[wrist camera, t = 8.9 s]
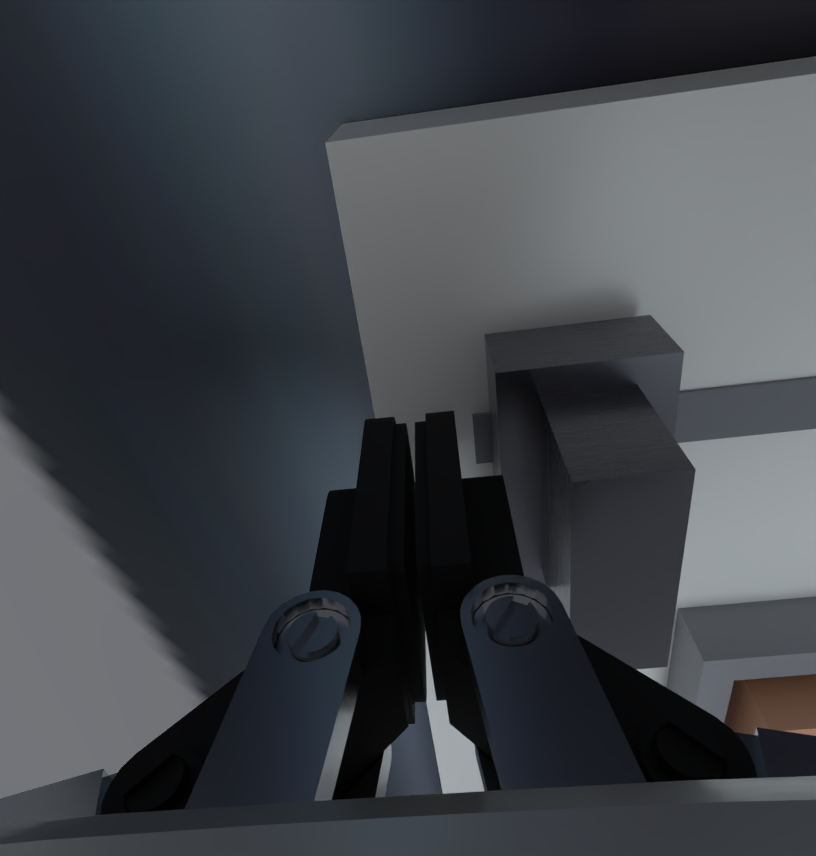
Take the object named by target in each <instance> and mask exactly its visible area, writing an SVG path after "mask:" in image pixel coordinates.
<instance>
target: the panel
mask: <svg viewBox="0 0 816 856" xmlns="http://www.w3.org/2000/svg"><path fill="white" fill-rule="evenodd" d="M325 144H326V150H327V155H328V161H329V167H330V172H331V178H332V183H333V189H334V194H335V200H336V205H337V211H338V216H339V222H340V227H341V233H342V238H343V244H344V250H345V255H346V261H347V266H348V272H349V277H350V283H351V288H352V294H353V299H354V305H355V310H356V316H357V321H358V327H359V332H360V338H361V344H362V349H363V355H364V360H365V366H366V371H367V377H368V382H369V388H370V393H371V399H372V404H373V410H374V415H375V418H385V417H394V418H395V421H396V424H401V423H406V424H407V430H408V437H409V444H410V451H411V458H412V465H413V472H414V479H415V422H421V421H426V419H425V414H426V413H435V412H445V411H454V415H455V424H456V433H457V442H458V450H459V459H460V468H461V477H462V478H473V477H484V476H494V469H493V454H492V439H491V424H490V409H489V394H488V379H487V364H486V349H485V334H491V333H500V332H508V331H517V330H525V329H534V328H542V327H551V326H559V325H568V324H576V323H585V322H593V321H602V320H610V319H619V318H627V317H636V316H644V315H651V316H652V317H653V318H654V319H655V320H656V321H657V323H658V324H659V325H660V326H661V327H662V328H663V329H664V330H665V331H666V332H667V333H668V335H669V336H670V337H671V338H672V339H673V340H674V341H675V342H676V343H677V344H678V345H679V347H680V348H681V349H682V350H683V351H684V358H683V366H682V375H681V384H680V392H679V401H678V409H677V418H676V426H675V435H674V439H675V440H676V442H677V443H678V444H679V446H680V447H681V449H682V450H683V452H684V453H685V455H686V456H687V458H688V459H689V460H690V462H691V463H692V465H693V466H694V468H695V469H696V472H695V478H694V485H693V492H692V499H691V506H690V513H689V520H688V527H687V534H686V541H685V548H684V555H683V562H682V569H681V576H680V583H679V590H678V597H677V604H676V610H675V617H674V624H673V631H672V638H671V645H670V652H669V659H668V666H667V667H660V668H648V669H636V670H638V671H639V672H641V673H643V674H645V675H646V676H648V677H650V678H651V679H653V680H655V681H656V682H658V683H660V684H661V685H663V686H665V687H666V688H668V689H670V690H671V691H673V692H675V693H676V694H678V695H680V696H682V697H683V698H685V699H687V700H688V701H690V702H692V703H693V704H695V705H697V706H698V707H700V708H702V709H703V710H705V711H707V712H708V713H710V714H712V715H714V716H715V717H716V718H718V719H719V720H720V721H722V722H723V723H724V721H725V717H726V713H727V709H728V704H729V700H730V696H731V692H732V687H733V683H734V680H747V679H760V678H772V677H785V676H798V675H811V674H816V56H814V57H807V58H800V59H793V60H786V61H779V62H772V63H765V64H758V65H751V66H744V67H737V68H730V69H723V70H716V71H709V72H702V73H695V74H688V75H681V76H674V77H667V78H660V79H653V80H646V81H639V82H632V83H625V84H618V85H611V86H604V87H597V88H590V89H583V90H576V91H569V92H562V93H555V94H548V95H541V96H534V97H527V98H520V99H513V100H506V101H499V102H492V103H485V104H478V105H471V106H464V107H457V108H450V109H443V110H436V111H429V112H422V113H415V114H408V115H401V116H393V117H386V118H379V119H372V120H365V121H358V122H351V123H344V124H341V126H340V127H339V128H338V129H337V130H336V131H335V132H334V133H333V134H332V136H331V137H330V138H329V139H328V140H327V141H326V142H325ZM425 637H426V631H425ZM426 682H427V701H426V703H427V709H428V714H429V720H430V725H431V731H432V736H433V742H434V747H435V753H436V759H437V764H438V770H439V775H440V781H441V786H442V792H443V794H446V793H463V792H481V791H484V787H483V783H482V779H481V775H480V771H479V767H478V763H477V759H476V754H475V745H474V744H473V743H472V742H471V741H470V740H469V739H467V738H466V737H465V736H464V735H463V734H461V733H460V732H459V731H458V730H457V729H455V728H454V727H453V726H452V725H451V724H450V723H449V716H448V709H447V702H446V700H442V701H437V700H436V694H435V688H434V682H433V675H432V669H431V662H430V656H429V650H428V643H427V637H426Z"/></svg>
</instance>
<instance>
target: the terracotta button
mask: <svg viewBox="0 0 816 856" xmlns="http://www.w3.org/2000/svg"><path fill="white" fill-rule="evenodd" d="M724 724H726V725H727V726H728V727H730V728H731V729H732V730H733V731H734V732H737V733H744V734H751V735H754V734H755V731H756V727H759V728H765V729H772V730H779V731H786V732H793V733H800V734H807V735H813V736H816V674H811V675H798V676H785V677H772V678H760V679H747V680H734V683H733V687H732V692H731V696H730V700H729V704H728V709H727V713H726V717H725V721H724Z"/></svg>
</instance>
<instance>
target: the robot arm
mask: <svg viewBox="0 0 816 856" xmlns="http://www.w3.org/2000/svg"><path fill="white" fill-rule="evenodd" d="M425 419H426V421H421V422H415V479H414V472H413V465H412V458H411V451H410V444H409V437H408V430H407V424H406V423H401V424H396V421H395V418H394V417H385V418H375V419H366V420H365V424H364V432H363V440H362V447H361V455H360V463H359V471H358V479H357V487H356V488H355V489H344V490H334V491H330V492H329V493H328V496H327V501H326V506H325V511H324V517H323V522H322V527H321V532H320V538H319V543H318V548H317V554H316V559H315V564H314V569H313V575H312V580H311V585H310V591H309V592H306V593H303V594H300V595H297V596H295V597H293V598H291V599H290V600H288V601H286V602H284V603H283V604H281V605H280V606H279V607H278V608H277V609H276V610H275V611H274V612H273V613H272V614H271V615H270V617H269V618H268V620H267V622H266V623H265V625H264V627H263V629H262V631H261V634H260V636H259V638H258V641H257V643H256V645H255V647H254V650H253V652H252V654H251V657H250V659H249V661H248V664H247V666H246V668H245V670H244V671H242V672H241V673H240V674H239V675H237V676H236V677H235V678H233V679H232V680H231V681H230V682H228V683H227V684H226V685H224V686H223V687H222V688H220V689H219V690H218V691H217V692H215V693H214V694H213V695H211V696H210V697H209V698H208V699H206V700H205V701H204V702H202V703H201V704H200V705H199V706H197V707H196V708H195V709H193V710H192V711H191V712H190V713H188V714H187V715H186V716H185V717H183V718H182V719H181V720H179V721H178V722H177V723H175V724H174V725H173V726H172V727H170V728H169V729H167V730H166V731H165V732H164V733H162V734H161V735H160V736H158V737H157V738H156V739H155V740H153V741H152V742H151V743H149V744H148V745H147V746H146V747H144V748H143V749H142V750H140V751H139V752H138V753H136V754H135V755H134V756H133V757H132V758H131V759H130V760H129V761H128V762H127V763H126V764H125V765H124V766H123V767H122V768H121V769H120V770H119V772H118V773H115V774H112V775H108V774H107V773H106V771H105V770H104V769H101V770H97V771H94V772H90V773H87V774H84V775H80V776H77V777H74V778H70V779H66V780H63V781H59V782H56V783H53V784H49V785H46V786H42V787H39V788H35V789H32V790H28V791H25V792H21V793H18V794H15V795H11V796H8V797H4V798H1V799H0V856H816V736H813V735H807V734H800V733H793V732H786V731H779V730H772V729H765V728H759V727H756V731H755V734H754V735H751V734H744V733H737V732H734V731H733V730H732V729H731V728H730V727H728V726H727V725H726V724H724V723H723V722H722V721H720V720H719V719H718V718H716V717H715V716H714V715H712V714H710V713H708V712H707V711H705V710H703V709H702V708H700V707H698V706H697V705H695V704H693V703H692V702H690V701H688V700H687V699H685V698H683V697H682V696H680V695H678V694H676V693H675V692H673V691H671V690H670V689H668V688H666V687H665V686H663V685H661V684H660V683H658V682H656V681H655V680H653V679H651V678H650V677H648V676H646V675H645V674H643V673H641V672H639V671H638V670H636V669H634V668H633V667H631V666H629V665H628V664H626V663H624V662H623V661H621V660H619V659H618V658H616V657H614V656H613V655H611V654H609V653H608V652H606V651H604V650H602V649H601V648H599V647H597V646H596V645H594V644H592V643H591V642H589V641H587V640H586V639H584V638H582V637H581V636H579V635H577V634H576V632H575V630H574V627H573V625H572V623H571V621H570V619H569V617H568V615H567V613H566V611H565V608H564V606H563V604H562V602H561V601H560V599H559V598H558V597H557V595H556V594H555V592H554V591H553V590H551V589H550V588H549V587H547V586H546V585H545V584H543V583H542V582H539V581H537V580H534V579H532V578H530V577H525V576H524V573H523V568H522V564H521V559H520V554H519V549H518V545H517V540H516V535H515V530H514V526H513V521H512V516H511V511H510V507H509V502H508V497H507V492H506V488H505V483H504V479H503V476H502V475H494V476H484V477H473V478H462V477H461V468H460V459H459V450H458V442H457V433H456V424H455V415H454V411H445V412H435V413H426V414H425ZM425 631H426V637H427V643H428V650H429V656H430V662H431V669H432V675H433V682H434V688H435V694H436V700H437V701H442V700H446V702H447V709H448V716H449V723H450V724H451V725H452V726H453V727H454V728H455V729H457V730H458V731H459V732H460V733H461V734H463V735H464V736H465V737H466V738H467V739H469V740H470V741H471V742H472V743H473V744H474V745H475V754H476V759H477V763H478V767H479V771H480V775H481V779H482V783H483V787H484V791H481V792H463V793H446V794H428V795H411V796H394V797H385V792H386V787H387V781H388V776H389V770H390V765H391V743H392V742H393V741H394V740H395V739H396V738H397V737H398V736H399V735H400V734H401V733H402V732H403V731H404V730H405V729H406V728H407V727H408V724H415V702H426V701H427V682H426V637H425Z"/></svg>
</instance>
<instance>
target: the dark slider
mask: <svg viewBox="0 0 816 856" xmlns="http://www.w3.org/2000/svg"><path fill="white" fill-rule="evenodd" d="M485 349H486V364H487V379H488V394H489V409H490V424H491V439H492V454H493V469H494V475H502V476H503V479H504V483H505V488H506V492H507V497H508V502H509V507H510V511H511V516H512V521H513V526H514V530H515V535H516V540H517V545H518V549H519V554H520V559H521V564H522V568H523V573H524V576H525V577H530V578H532V579H534V580H537V581H539V582H542V583H543V584H545V585H546V586H547V587H549V588H550V589H551V590H553V591H554V592H555V594H556V595H557V597H558V598H559V599H560V601H561V602H562V604H563V606H564V608H565V611H566V613H567V615H568V617H569V619H570V621H571V623H572V625H573V627H574V630H575V632H576V634H577V635H579V636H581V637H582V638H584V639H586V640H587V641H589V642H591V643H592V644H594V645H596V646H597V647H599V648H601V649H602V650H604V651H606V652H608V653H609V654H611V655H613V656H614V657H616V658H618V659H619V660H621V661H623V662H624V663H626V664H628V665H629V666H631V667H633V668H634V669H648V668H660V667H667V666H668V659H669V652H670V645H671V638H672V631H673V624H674V617H675V610H676V604H677V597H678V590H679V583H680V576H681V569H682V562H683V555H684V548H685V541H686V534H687V527H688V520H689V513H690V506H691V499H692V492H693V485H694V478H695V472H696V469H695V468H694V466H693V465H692V463H691V462H690V460H689V459H688V458H687V456H686V455H685V453H684V452H683V450H682V449H681V447H680V446H679V444H678V443H677V442H676V440H675V439H674V435H675V426H676V418H677V409H678V401H679V392H680V384H681V375H682V366H683V358H684V351H683V350H682V349H681V348H680V347H679V345H678V344H677V343H676V342H675V341H674V340H673V339H672V338H671V337H670V336H669V335H668V333H667V332H666V331H665V330H664V329H663V328H662V327H661V326H660V325H659V324H658V323H657V321H656V320H655V319H654V318H653V317H652V316H651V315H644V316H636V317H627V318H619V319H610V320H602V321H593V322H585V323H576V324H568V325H559V326H551V327H542V328H534V329H525V330H517V331H508V332H500V333H491V334H485Z"/></svg>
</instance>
